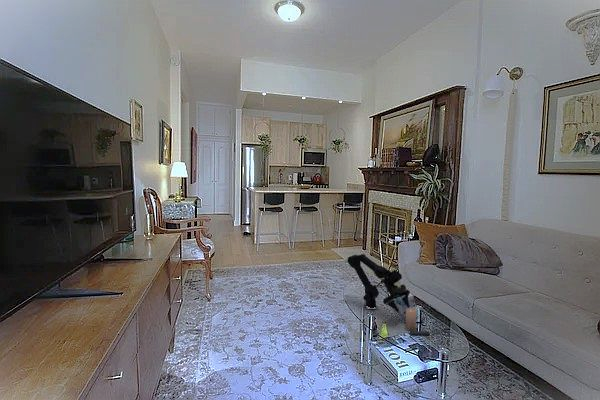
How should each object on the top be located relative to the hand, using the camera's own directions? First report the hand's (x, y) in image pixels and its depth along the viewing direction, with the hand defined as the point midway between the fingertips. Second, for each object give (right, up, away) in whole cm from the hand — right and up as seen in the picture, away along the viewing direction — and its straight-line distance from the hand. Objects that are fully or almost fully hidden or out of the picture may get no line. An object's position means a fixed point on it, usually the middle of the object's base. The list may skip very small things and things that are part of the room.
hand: (403, 309), depth 202 cm
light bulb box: (+6, -7, +18) cm, 21 cm away
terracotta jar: (+3, -10, -3) cm, 11 cm away
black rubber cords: (+6, -10, -3) cm, 13 cm away
